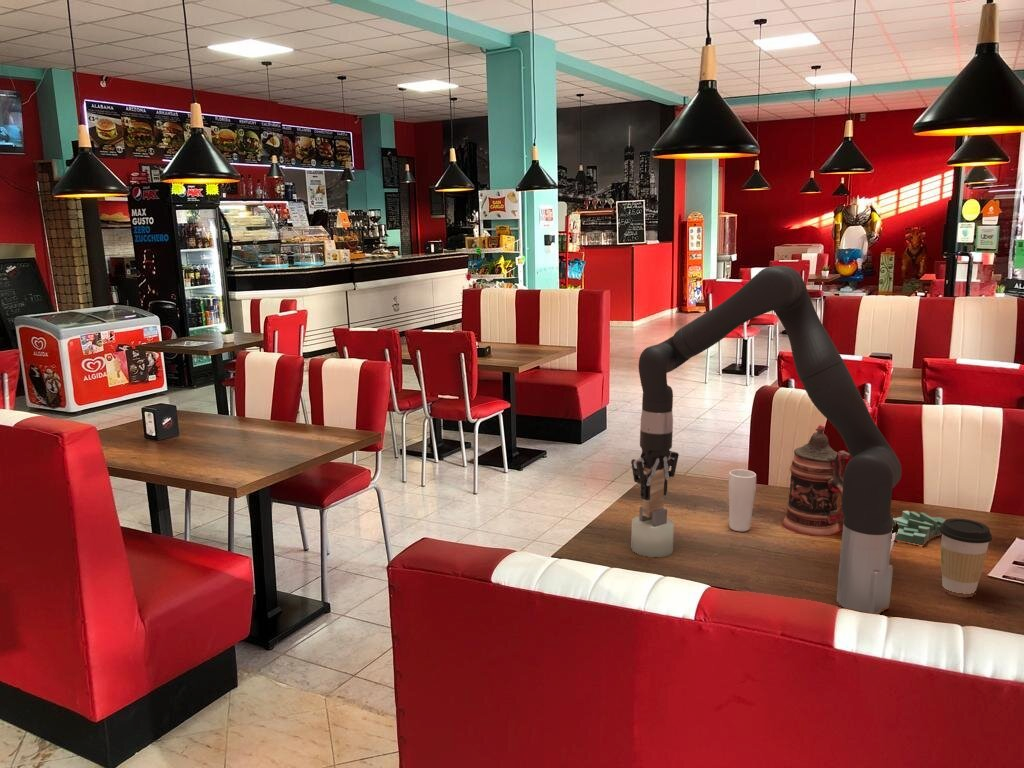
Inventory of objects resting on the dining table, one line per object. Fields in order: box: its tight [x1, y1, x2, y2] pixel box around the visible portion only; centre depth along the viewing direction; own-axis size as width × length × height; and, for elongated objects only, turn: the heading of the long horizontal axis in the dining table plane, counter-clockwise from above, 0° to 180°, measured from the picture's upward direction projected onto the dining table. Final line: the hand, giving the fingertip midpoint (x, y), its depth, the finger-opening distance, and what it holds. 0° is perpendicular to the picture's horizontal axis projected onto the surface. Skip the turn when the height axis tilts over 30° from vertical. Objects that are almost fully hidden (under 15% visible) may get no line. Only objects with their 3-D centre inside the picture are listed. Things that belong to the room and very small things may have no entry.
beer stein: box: [781, 424, 851, 537], centre depth 208 cm, size 17×28×18 cm
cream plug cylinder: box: [630, 505, 675, 558], centre depth 195 cm, size 10×10×10 cm
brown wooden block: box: [642, 467, 665, 518], centre depth 194 cm, size 2×5×12 cm, turn 127°
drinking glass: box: [727, 468, 757, 533], centre depth 208 cm, size 7×7×15 cm
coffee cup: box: [939, 517, 993, 594], centre depth 173 cm, size 10×10×15 cm
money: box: [893, 510, 946, 546], centre depth 208 cm, size 20×16×5 cm
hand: (653, 496), depth 194 cm, fingers closed on brown wooden block, 5 cm apart
